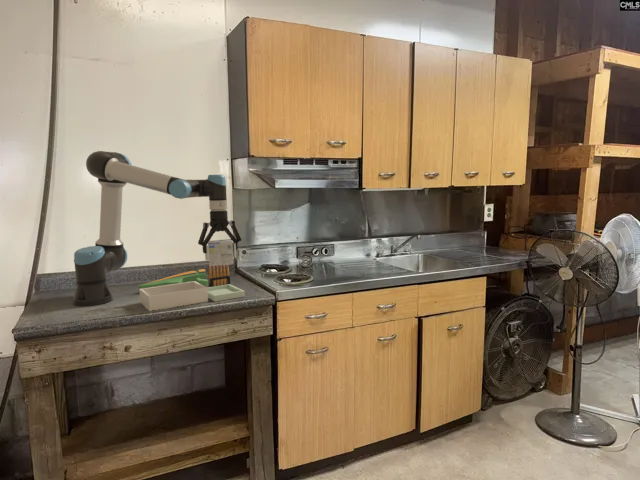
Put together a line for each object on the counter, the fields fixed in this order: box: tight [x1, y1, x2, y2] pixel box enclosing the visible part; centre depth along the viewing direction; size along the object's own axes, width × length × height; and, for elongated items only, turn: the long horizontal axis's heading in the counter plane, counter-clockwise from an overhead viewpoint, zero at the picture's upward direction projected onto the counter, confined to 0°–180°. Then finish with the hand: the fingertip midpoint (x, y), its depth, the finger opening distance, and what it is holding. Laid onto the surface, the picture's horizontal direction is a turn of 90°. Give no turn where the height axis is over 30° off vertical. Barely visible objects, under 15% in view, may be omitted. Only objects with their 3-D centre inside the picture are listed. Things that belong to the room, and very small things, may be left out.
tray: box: [206, 284, 246, 302], centre depth 201 cm, size 14×17×2 cm
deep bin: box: [138, 281, 209, 312], centre depth 190 cm, size 24×16×6 cm, turn 124°
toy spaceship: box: [138, 268, 209, 290], centre depth 216 cm, size 32×10×7 cm, turn 127°
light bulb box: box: [207, 238, 234, 267], centre depth 198 cm, size 11×7×11 cm, turn 104°
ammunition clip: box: [207, 265, 232, 287], centre depth 216 cm, size 11×2×12 cm, turn 126°
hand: (221, 258), depth 199 cm, fingers closed on light bulb box, 12 cm apart
